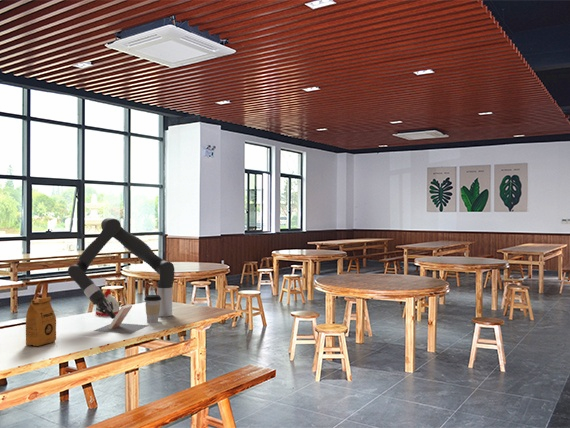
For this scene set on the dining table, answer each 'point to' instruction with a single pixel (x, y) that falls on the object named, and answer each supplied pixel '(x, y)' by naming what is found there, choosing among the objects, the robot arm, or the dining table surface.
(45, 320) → the coffee package
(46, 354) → the dining table surface
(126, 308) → the tile
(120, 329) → the mat
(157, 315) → the coffee cup
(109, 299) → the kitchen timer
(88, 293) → the robot arm
